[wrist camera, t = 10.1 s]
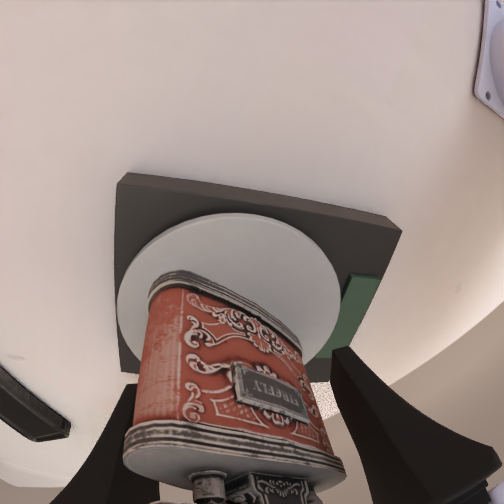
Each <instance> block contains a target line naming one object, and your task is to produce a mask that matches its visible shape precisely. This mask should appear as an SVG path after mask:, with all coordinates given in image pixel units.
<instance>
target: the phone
mask: <svg viewBox="0 0 504 504" xmlns="http://www.w3.org/2000/svg"><path fill="white" fill-rule="evenodd" d="M0 419H1V420H2V421H3V422H5V423H6V424H7V425H9V426H10V427H12V428H13V429H14V430H16V431H17V432H18V433H20V434H21V435H23V436H24V437H26V438H27V439H29V440H31V441H34V442H43V441H50V440H56V439H62V438H67V437H68V436H69V433H70V428H71V425H70V424H69V422H67V421H66V420H65V419H63V418H62V417H61V416H59V415H58V414H56V413H55V412H54V411H52V410H51V409H50V408H48V407H47V406H46V405H44V404H43V403H42V402H41V401H39V400H38V399H37V398H36V397H34V396H33V395H32V394H31V393H29V392H28V391H27V390H26V389H25V388H23V387H22V386H21V385H20V384H19V383H18V382H16V381H15V380H14V379H13V378H12V377H11V376H10V375H9V374H7V373H6V372H5V371H4V370H3V369H2V368H1V367H0Z"/></svg>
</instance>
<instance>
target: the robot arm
mask: <svg viewBox="0 0 504 504" xmlns="http://www.w3.org/2000/svg"><path fill="white" fill-rule="evenodd" d="M474 92H475V95H476V97H477V98H478V99H479V100H480V101H482V102H483V103H484V104H486V105H487V106H488V107H489V108H491V109H492V110H493V111H495V112H496V113H497V114H498V115H500V116H501V117H502V118H503V119H504V4H503V3H502V2H501V1H500V0H485V11H484V25H483V35H482V44H481V51H480V58H479V65H478V71H477V77H476V82H475V88H474ZM330 384H331V387H332V390H333V394H334V397H335V400H336V403H337V406H338V408H339V410H340V412H341V415H342V417H343V419H344V421H345V423H346V426H347V428H348V430H349V432H350V435H351V437H352V439H353V441H354V444H355V446H356V448H357V451H358V453H359V456H360V459H361V462H362V464H363V468H364V472H365V475H366V478H367V482H368V485H369V489H370V493H371V497H372V501H373V504H504V480H503V481H502V482H500V483H499V484H497V485H496V486H495V487H493V488H491V489H490V490H488V491H487V490H486V487H487V486H488V483H487V481H486V478H488V477H489V476H490V475H492V474H493V473H494V472H495V471H497V470H498V469H499V468H500V467H501V466H502V462H501V461H500V459H499V457H498V455H497V453H496V452H495V450H494V449H493V447H491V446H487V445H484V444H482V443H479V442H476V441H474V440H471V439H469V438H467V437H464V436H462V435H460V434H458V433H456V432H454V431H452V430H450V429H448V428H446V427H444V426H442V425H441V424H439V423H437V422H435V421H434V420H432V419H431V418H429V417H427V416H426V415H424V414H423V413H421V412H420V411H419V410H417V409H416V408H414V407H413V406H412V405H410V404H409V403H408V402H406V401H405V400H404V399H403V398H402V397H400V396H399V395H398V394H397V393H395V392H394V391H393V390H392V389H391V388H390V387H389V386H388V385H386V384H385V383H384V382H383V381H382V380H381V379H380V378H379V377H378V376H377V375H376V374H375V373H374V372H373V371H372V370H371V369H370V368H369V367H368V366H367V365H366V364H365V363H364V362H363V361H362V360H361V359H360V358H359V357H358V356H357V354H356V353H355V352H354V351H353V350H352V349H351V348H350V347H349V346H344V347H341V348H337V349H333V350H332V360H331V374H330ZM137 386H138V383H137V384H127V385H126V387H125V389H124V391H123V393H122V395H121V397H120V399H119V401H118V403H117V405H116V407H115V409H114V411H113V413H112V415H111V417H110V419H109V421H108V423H107V425H106V427H105V429H104V430H103V432H102V434H101V436H100V438H99V439H98V441H97V443H96V445H95V446H94V448H93V450H92V451H91V453H90V455H89V456H88V458H87V459H86V461H85V462H84V464H83V465H82V467H81V468H80V469H79V471H78V472H77V473H76V475H75V476H74V477H73V478H72V480H71V481H70V482H69V483H68V485H67V486H66V487H65V488H64V489H63V490H62V491H61V492H60V493H59V494H58V495H57V497H56V498H55V499H54V500H53V501H52V502H51V503H50V504H150V503H152V502H155V501H160V495H159V494H160V493H159V481H156V480H153V479H150V478H147V477H145V476H142V475H139V474H137V473H135V472H133V471H131V470H129V469H128V468H127V467H126V466H125V465H124V462H123V451H124V441H125V434H126V433H127V431H128V430H129V429H130V428H131V427H133V419H134V410H135V401H136V393H137Z"/></svg>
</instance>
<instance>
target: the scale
mask: <svg viewBox="0 0 504 504" xmlns="http://www.w3.org/2000/svg"><path fill="white" fill-rule="evenodd" d="M401 233H402V230H401V229H400V228H399V227H397V226H396V225H395V224H394V223H393V222H391V221H390V220H389V219H388V218H387V217H385V216H381V215H377V214H372V213H368V212H364V211H359V210H355V209H350V208H345V207H341V206H336V205H331V204H326V203H321V202H316V201H311V200H306V199H301V198H296V197H290V196H285V195H280V194H274V193H268V192H263V191H257V190H251V189H245V188H239V187H232V186H226V185H220V184H213V183H206V182H199V181H192V180H185V179H178V178H170V177H162V176H154V175H145V174H137V173H126V174H125V176H124V177H123V178H122V179H121V180H120V181H119V182H118V183H117V188H116V205H115V233H114V278H115V305H116V322H117V335H118V347H119V357H120V366H121V372H127V373H134V374H139V371H140V365H141V358H142V352H143V346H144V340H145V334H146V328H147V323H148V314H147V311H146V306H147V299H148V294H149V290H150V287H151V285H152V284H153V282H154V280H155V279H157V278H158V277H159V276H160V275H161V274H163V273H165V272H168V271H170V270H177V269H183V270H188V271H191V272H194V273H196V274H198V275H201V276H203V277H206V278H208V279H211V280H213V281H215V282H218V283H220V284H223V285H225V286H227V287H229V288H231V289H232V290H234V291H236V292H238V293H240V294H242V295H244V296H245V297H247V298H249V299H251V300H253V301H255V302H256V303H258V304H259V305H260V306H262V307H263V308H265V309H266V310H267V311H269V312H270V313H271V314H273V315H274V316H276V317H277V318H278V319H280V320H281V321H282V322H283V323H284V324H285V325H286V326H287V327H288V328H289V329H290V330H291V331H292V332H293V333H294V334H295V335H296V336H297V337H298V339H299V341H300V344H301V347H302V349H303V352H304V356H303V360H302V362H303V365H304V368H305V371H306V373H307V376H308V379H309V382H310V383H314V382H328V381H329V380H330V374H331V360H332V350H333V349H337V348H341V347H344V346H349V344H350V343H351V341H352V339H353V337H354V335H355V333H356V331H357V329H358V327H359V326H360V324H361V322H362V320H363V318H364V316H365V314H366V312H367V310H368V308H369V306H370V304H371V301H372V299H373V297H374V295H375V293H376V291H377V289H378V287H379V285H380V282H381V280H382V278H383V276H384V274H385V271H386V269H387V267H388V265H389V262H390V260H391V258H392V255H393V253H394V250H395V248H396V246H397V243H398V241H399V238H400V236H401Z"/></svg>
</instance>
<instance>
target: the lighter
mask: <svg viewBox="0 0 504 504" xmlns="http://www.w3.org/2000/svg"><path fill="white" fill-rule="evenodd" d="M146 311H147V314H148V323H147V328H146V334H145V340H144V346H143V352H142V358H141V365H140V371H139V378H138V386H137V393H136V401H135V410H134V419H133V427H131V428H130V429H129V430H128V431H127V433H126V434H125V441H124V451H123V462H124V465H125V466H126V467H127V468H128V469H129V470H131V471H133V472H135V473H137V474H139V475H142V476H145V477H147V478H150V479H153V480H156V481H159V482H162V483H165V484H169V485H172V486H175V487H179V488H183V489H187V490H192V491H193V501H194V503H197V504H323V503H322V501H321V500H320V499H319V497H318V496H317V495H316V493H319V492H322V491H324V490H327V489H329V488H331V487H333V486H335V485H337V484H339V483H341V482H342V481H343V480H345V478H346V476H347V475H346V472H345V469H344V466H343V463H342V460H341V459H340V458H339V457H337V456H334V453H333V450H332V447H331V444H330V441H329V438H328V435H327V432H326V429H325V426H324V423H323V420H322V417H321V414H320V411H319V409H318V406H317V403H316V400H315V397H314V394H313V391H312V388H311V385H310V382H309V379H308V376H307V373H306V371H305V368H304V365H303V362H302V360H303V356H304V352H303V349H302V347H301V344H300V341H299V339H298V337H297V336H296V335H295V334H294V333H293V332H292V331H291V330H290V329H289V328H288V327H287V326H286V325H285V324H284V323H283V322H282V321H281V320H280V319H278V318H277V317H276V316H274V315H273V314H271V313H270V312H269V311H267V310H266V309H265V308H263V307H262V306H260V305H259V304H258V303H256V302H255V301H253V300H251V299H249V298H247V297H245V296H244V295H242V294H240V293H238V292H236V291H234V290H232V289H231V288H229V287H227V286H225V285H223V284H220V283H218V282H215V281H213V280H211V279H208V278H206V277H203V276H201V275H198V274H196V273H194V272H191V271H188V270H183V269H177V270H170V271H168V272H165V273H163V274H161V275H160V276H159V277H158V278H157V279H155V280H154V282H153V284H152V285H151V287H150V290H149V294H148V299H147V306H146ZM150 504H192V503H187V502H180V501H170V500H164V501H163V500H161V501H155V502H152V503H150Z"/></svg>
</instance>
